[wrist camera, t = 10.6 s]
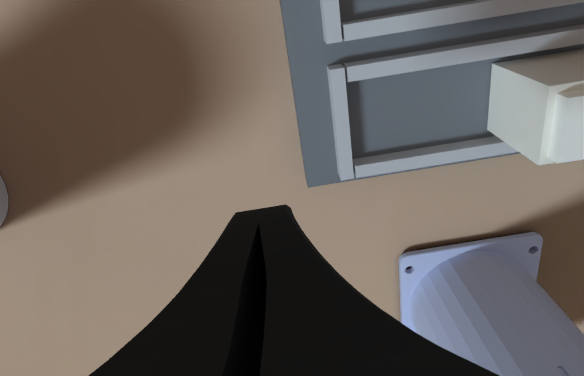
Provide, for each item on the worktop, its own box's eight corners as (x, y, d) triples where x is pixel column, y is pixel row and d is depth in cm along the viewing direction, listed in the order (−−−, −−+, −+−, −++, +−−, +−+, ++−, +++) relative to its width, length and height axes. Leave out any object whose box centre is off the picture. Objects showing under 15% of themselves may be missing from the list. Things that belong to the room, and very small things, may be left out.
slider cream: (573, 115, 19) (658, 154, 15) (487, 129, 19) (547, 172, 15) (585, 48, 18) (681, 71, 14) (492, 63, 18) (560, 90, 14)
